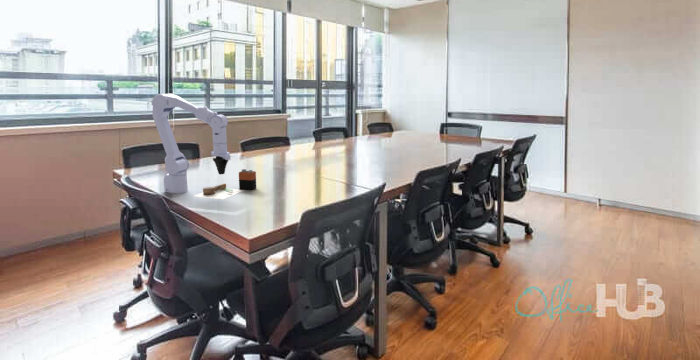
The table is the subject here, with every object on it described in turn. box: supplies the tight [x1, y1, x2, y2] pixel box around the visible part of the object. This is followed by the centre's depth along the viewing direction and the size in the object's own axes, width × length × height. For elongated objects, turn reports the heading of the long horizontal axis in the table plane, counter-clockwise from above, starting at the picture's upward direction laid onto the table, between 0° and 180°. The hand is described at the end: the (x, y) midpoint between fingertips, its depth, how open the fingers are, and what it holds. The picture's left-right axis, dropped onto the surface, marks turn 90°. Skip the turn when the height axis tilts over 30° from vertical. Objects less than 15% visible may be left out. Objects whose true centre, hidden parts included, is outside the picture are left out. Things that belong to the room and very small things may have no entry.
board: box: [194, 187, 245, 200], centre depth 190 cm, size 15×17×1 cm
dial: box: [202, 183, 227, 195], centre depth 192 cm, size 13×5×2 cm, turn 156°
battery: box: [238, 168, 257, 191], centre depth 197 cm, size 4×7×10 cm, turn 77°
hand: (221, 173), depth 187 cm, fingers closed
